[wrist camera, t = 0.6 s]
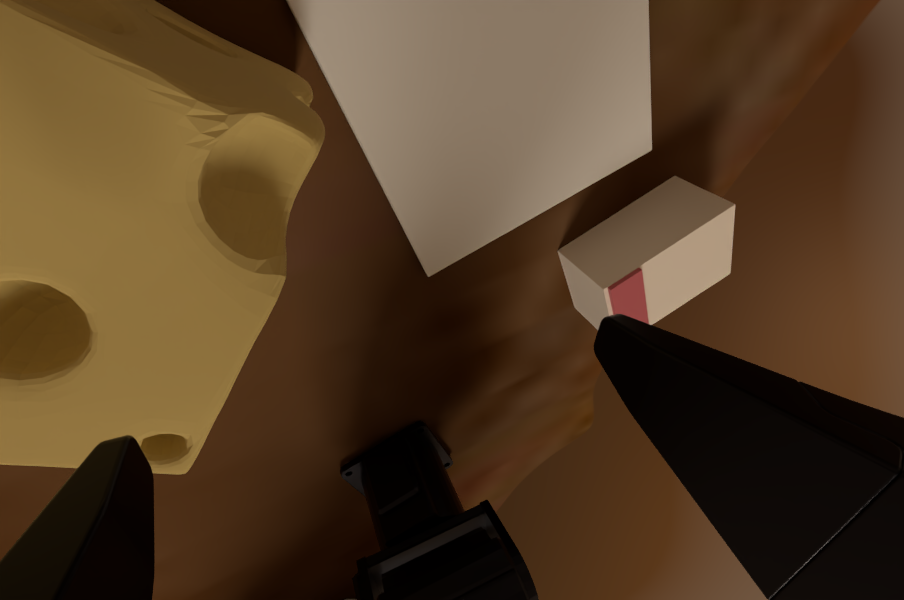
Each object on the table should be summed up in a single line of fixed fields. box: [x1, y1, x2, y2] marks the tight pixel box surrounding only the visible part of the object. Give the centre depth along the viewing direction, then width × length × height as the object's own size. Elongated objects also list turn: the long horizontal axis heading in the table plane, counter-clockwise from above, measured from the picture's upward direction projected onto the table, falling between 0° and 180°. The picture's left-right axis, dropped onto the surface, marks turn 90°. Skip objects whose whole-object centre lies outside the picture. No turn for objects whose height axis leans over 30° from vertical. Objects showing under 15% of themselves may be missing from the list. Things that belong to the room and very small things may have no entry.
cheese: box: [0, 0, 325, 474], centre depth 12 cm, size 10×11×10 cm
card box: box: [557, 176, 735, 330], centre depth 27 cm, size 8×6×5 cm, turn 113°
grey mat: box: [286, 0, 652, 277], centre depth 20 cm, size 13×14×1 cm
